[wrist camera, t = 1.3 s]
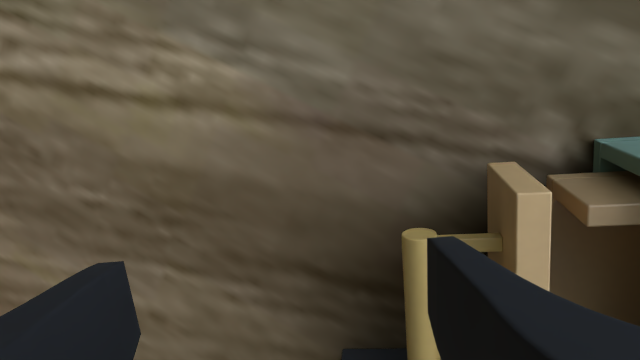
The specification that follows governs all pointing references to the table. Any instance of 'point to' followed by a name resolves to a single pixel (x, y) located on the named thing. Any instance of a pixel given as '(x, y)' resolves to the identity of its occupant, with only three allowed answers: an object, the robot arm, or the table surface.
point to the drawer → (545, 244)
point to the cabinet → (617, 155)
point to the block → (374, 354)
